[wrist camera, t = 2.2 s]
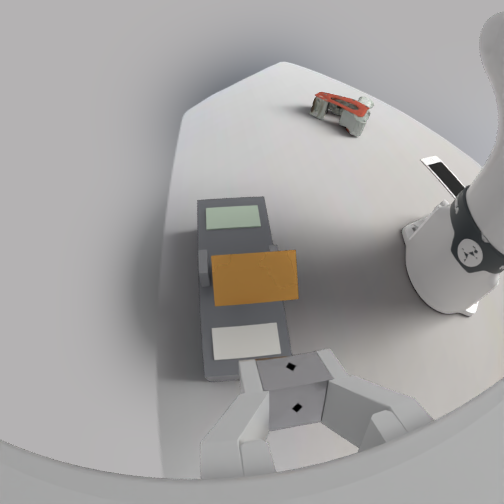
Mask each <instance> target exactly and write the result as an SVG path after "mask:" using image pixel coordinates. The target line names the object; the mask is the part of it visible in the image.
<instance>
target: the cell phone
mask: <svg viewBox="0 0 504 504" xmlns="http://www.w3.org/2000/svg"><path fill="white" fill-rule="evenodd" d="M421 161H422V162H423V163H424V164H425V166H426V167H427V168H428V169H429V170H430V171H431V172H432V173H433V174H434V175H435V176H436V177H437V179H438V180H439V181H440V182H441V183H442V184H443V185H444V187H445V188H446V189H447V190H448V191H449V192H450V194H451V195H452V196H453V197H454V199H456V197H457V195H458V194H459V193H460V192H461V191H462V190H463V189H464V188H465V187H464V185H463V184H462V183H461V182H460V181H459V180H458V178H457V177H456V176H455V175H454V174H453V173H452V172H451V171H450V170H449V168H448V167H447V166H446V165H445V164H444V163H443V162H442V161H441V160H440V159H439V158H438V157H437V156H432V157H428V158H424V159H421Z"/></svg>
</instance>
